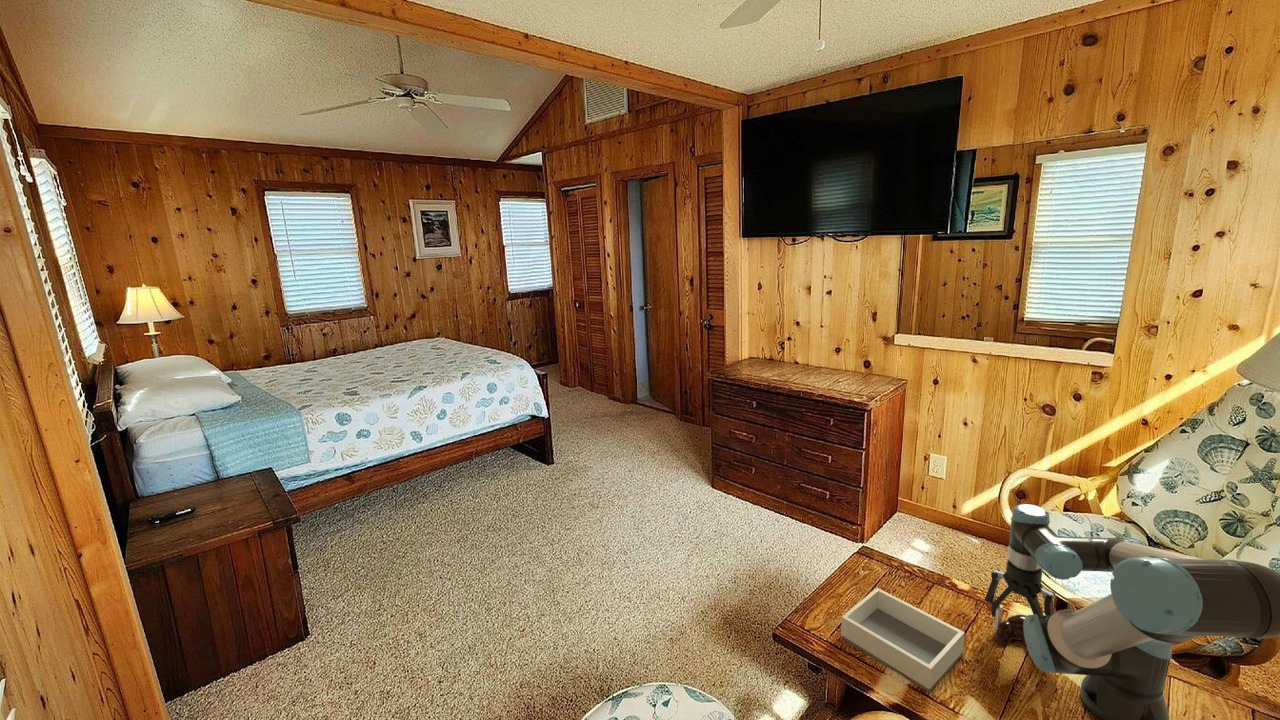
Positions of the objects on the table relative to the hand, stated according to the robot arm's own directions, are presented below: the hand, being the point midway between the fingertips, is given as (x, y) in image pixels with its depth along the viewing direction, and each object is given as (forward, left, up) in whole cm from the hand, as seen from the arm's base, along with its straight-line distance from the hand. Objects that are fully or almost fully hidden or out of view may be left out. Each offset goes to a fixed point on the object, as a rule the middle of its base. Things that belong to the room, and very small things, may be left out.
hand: (1015, 636), depth 144 cm
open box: (+19, +24, -1) cm, 31 cm away
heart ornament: (+1, -2, -2) cm, 2 cm away
